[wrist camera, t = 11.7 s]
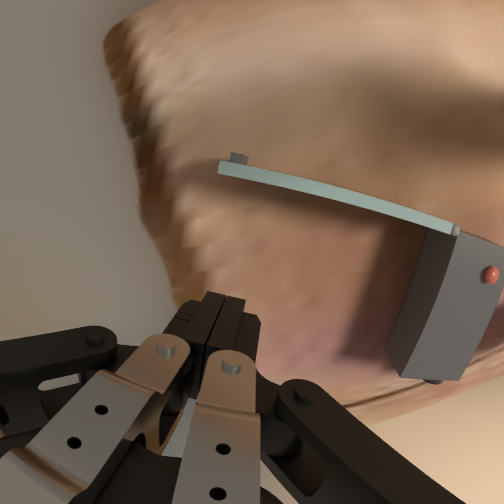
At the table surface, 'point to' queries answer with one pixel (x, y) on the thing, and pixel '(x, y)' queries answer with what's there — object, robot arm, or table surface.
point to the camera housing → (447, 306)
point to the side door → (332, 193)
